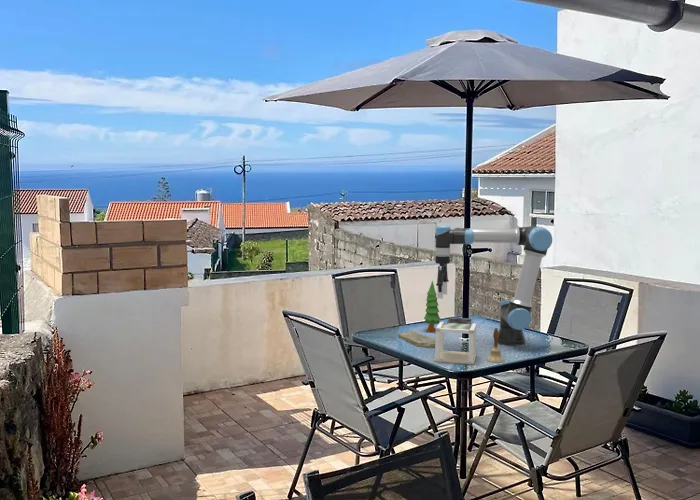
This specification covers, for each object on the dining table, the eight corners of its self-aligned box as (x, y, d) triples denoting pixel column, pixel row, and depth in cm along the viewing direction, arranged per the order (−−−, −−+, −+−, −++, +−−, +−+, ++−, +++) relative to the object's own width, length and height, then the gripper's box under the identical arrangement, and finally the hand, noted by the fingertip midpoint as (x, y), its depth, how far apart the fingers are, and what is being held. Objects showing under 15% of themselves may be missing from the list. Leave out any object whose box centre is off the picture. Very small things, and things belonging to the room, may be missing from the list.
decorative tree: (434, 329, 406) (435, 278, 403) (443, 332, 397) (444, 280, 395) (420, 330, 401) (421, 279, 398) (429, 333, 393) (430, 281, 390)
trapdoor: (472, 323, 352) (473, 318, 352) (468, 332, 328) (468, 328, 328) (447, 321, 355) (447, 317, 355) (441, 331, 331) (441, 326, 331)
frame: (476, 354, 344) (477, 323, 343) (473, 364, 326) (474, 331, 324) (438, 352, 349) (439, 321, 347) (433, 361, 331) (434, 328, 329)
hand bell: (507, 362, 331) (508, 329, 329) (491, 363, 328) (492, 330, 327) (498, 357, 339) (499, 326, 337) (483, 358, 336) (484, 326, 335)
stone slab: (422, 343, 356) (396, 330, 383) (422, 351, 356) (396, 337, 384) (443, 341, 361) (416, 328, 388) (443, 349, 361) (415, 335, 388)
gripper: (439, 253, 368) (439, 292, 370) (431, 257, 344) (431, 299, 346) (453, 253, 366) (453, 293, 368) (446, 258, 342) (445, 300, 344)
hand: (442, 296), depth 357 cm, fingers open, 13 cm apart
